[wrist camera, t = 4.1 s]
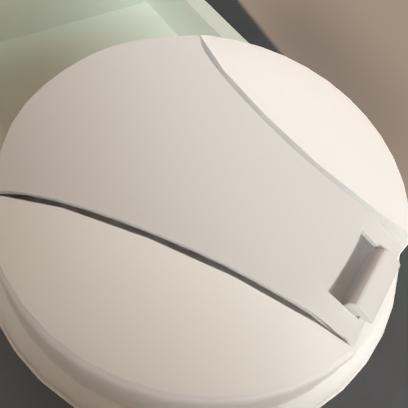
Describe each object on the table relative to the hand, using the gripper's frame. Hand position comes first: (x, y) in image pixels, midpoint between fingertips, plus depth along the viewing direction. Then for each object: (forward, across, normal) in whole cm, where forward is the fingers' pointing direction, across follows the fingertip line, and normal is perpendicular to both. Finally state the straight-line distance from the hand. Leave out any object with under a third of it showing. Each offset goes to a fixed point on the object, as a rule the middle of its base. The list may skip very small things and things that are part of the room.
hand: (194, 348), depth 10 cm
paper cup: (+8, -1, -5) cm, 9 cm away
